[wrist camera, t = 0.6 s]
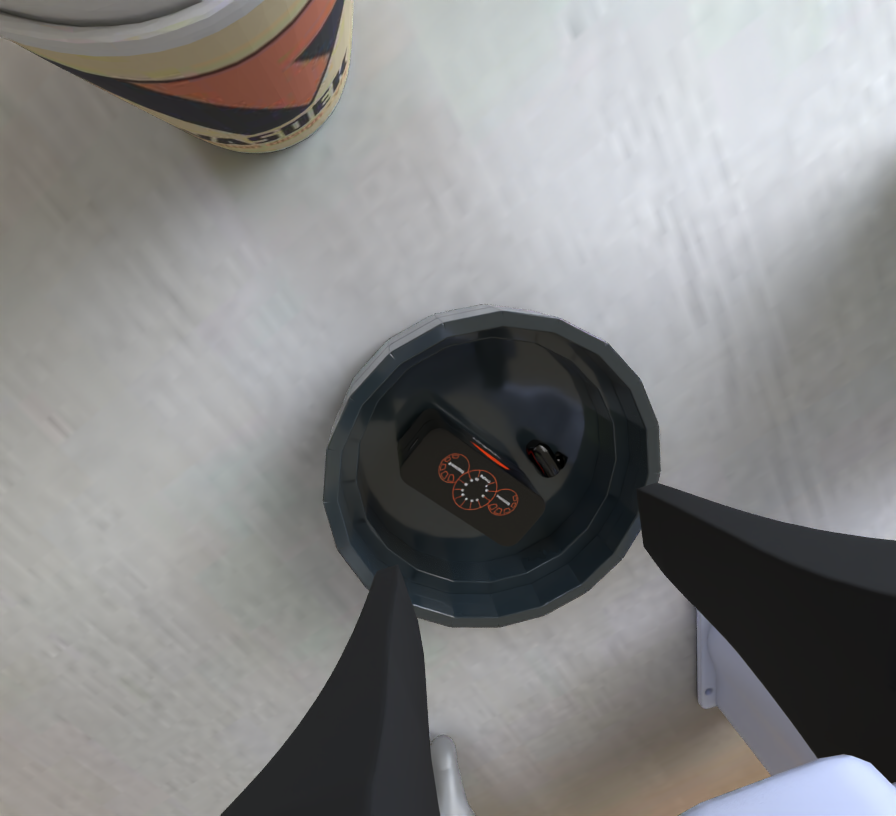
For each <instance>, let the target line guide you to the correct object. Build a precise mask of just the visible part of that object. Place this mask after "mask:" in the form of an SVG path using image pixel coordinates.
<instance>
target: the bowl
mask: <svg viewBox="0 0 896 816" xmlns="http://www.w3.org/2000/svg"><path fill="white" fill-rule="evenodd" d="M429 408H434V409H437V410H439V411H441V412H442V413H443V414H445V415H446V416H447V417H449V418H450V419H452V420H453V421H454V422H456V423H457V424H458V425H460V426H461V427H463V428H464V429H465V430H467V431H468V432H469V433H471V434H472V435H474V436H475V437H476V438H478V439H479V440H480V441H482V442H483V443H485V444H486V445H487V446H489V447H490V448H491V449H493V450H494V451H496V452H497V453H498V454H500V455H501V456H503V457H504V458H505V459H507V460H508V461H509V462H511V463H512V464H514V465H515V466H516V467H518V468H519V469H520V470H522V471H523V472H524V473H525V474H526V476H527V477H528V478H529V480H530V481H531V483H532V484H533V485H534V487H535V488H536V490H537V491H538V492H539V494H540V495H541V497H542V498H543V499H544V501H545V511H544V513H543V514H542V516H541V517H540V518H539V519H538V520H537V521H536V523H535V524H534V525H533V526H532V527H531V528H530V529H529V531H528V532H527V533H526V534H525V535H524V536H523V537H522V539H521V540H520V541H519V542H518V543H516V544H515V545H512V546H508V547H507V546H502V545H500V544H498V543H497V542H495V541H493V540H492V539H490V538H489V537H487V536H486V535H484V534H483V533H481V532H480V531H478V530H477V529H475V528H473V527H472V526H470V525H469V524H467V523H466V522H464V521H463V520H461V519H460V518H458V517H457V516H455V515H453V514H452V513H450V512H449V511H447V510H446V509H444V508H443V507H441V506H440V505H438V504H437V503H435V502H433V501H432V500H430V499H429V498H427V497H426V496H424V495H423V494H421V493H420V492H418V491H417V490H415V489H413V488H412V487H410V486H409V485H407V484H406V483H405V482H404V481H403V480H402V479H401V477H400V470H399V461H398V451H397V446H398V442H399V441H400V439H401V438H402V436H403V435H404V434H405V433H406V431H407V430H408V429H409V427H410V426H411V425H412V424H413V422H414V421H415V420H416V419H417V417H418V416H419V415H420V414H421V413H422V412H423V411H424V410H426V409H429ZM533 439H536V440H540V441H543V442H544V443H546V444H547V445H548V446H549V447H550V448H551V450H552V451H553V453H554V454H555V452H557V451H559V452H562V453H564V454H565V455H566V456H568V460H567V463H566V465H565V467H564V468H563V469H561V470H560V472H559V473H558V474H557V475H555V476H554V477H551V478H544V477H542V476H541V475H539V474H538V473H537V471H536V470H535V468H534V466H533V465H532V463H531V462H530V460H529V459H528V457H527V456H526V445H527V444H528V443H529V442H530V441H531V440H533ZM660 471H661V468H660V442H659V426H658V422H657V419H656V417H655V414H654V411H653V409H652V406H651V404H650V401H649V399H648V396H647V394H646V391H645V389H644V386H643V384H642V381H641V379H640V378H639V377H638V376H637V375H636V373H635V372H634V371H633V370H632V369H631V368H630V367H629V366H628V365H627V364H626V362H625V361H624V360H623V359H622V358H621V357H620V356H619V355H618V354H617V353H616V351H615V350H614V349H613V348H612V347H611V346H610V345H609V344H608V343H607V342H606V341H604V340H602V339H600V338H598V337H596V336H594V335H592V334H590V333H588V332H586V331H584V330H582V329H581V328H579V327H577V326H575V325H573V324H571V323H569V322H567V321H565V320H563V319H561V318H558V317H555V316H551V315H547V314H543V313H540V312H536V311H533V310H527V309H519V308H511V307H504V306H496V305H488V304H484V305H483V304H480V305H475V306H470V307H465V308H460V309H455V310H450V311H445V312H440V313H435V314H434V315H430V316H429V317H427V318H425V319H423V320H422V321H420V322H418V323H416V324H414V325H413V326H411V327H409V328H407V329H406V330H404V331H402V332H400V333H399V334H397V335H395V336H393V337H392V338H390V339H389V341H388V340H387V341H386V342H385V343H384V344H383V345H382V346H381V348H380V349H379V350H378V351H377V352H376V353H375V354H374V355H373V356H372V357H371V359H370V360H369V361H368V362H367V363H366V364H365V365H364V366H363V367H362V369H361V370H360V371H359V372H358V373H357V374H356V375H355V376H354V378H353V379H352V382H351V384H350V386H349V389H348V391H347V393H346V395H345V398H344V400H343V402H342V405H341V407H340V409H339V412H338V414H337V416H336V419H335V421H334V424H333V428H332V431H331V435H330V438H329V442H328V446H327V449H326V461H325V476H324V491H323V504H324V508H325V511H326V514H327V518H328V521H329V524H330V528H331V531H332V534H333V538H334V541H335V544H336V548H337V549H338V551H339V553H340V554H341V555H342V557H343V558H344V559H345V561H346V562H347V563H348V565H349V566H350V567H351V569H352V570H353V571H354V573H355V574H356V575H357V577H358V578H359V579H360V581H361V582H362V583H363V585H364V586H365V587H366V588H367V589H368V590H370V588H371V585H372V582H373V579H374V576H375V574H376V572H377V571H378V570H381V569H385V568H388V567H391V566H394V565H397V564H398V565H399V568H400V571H401V574H402V577H403V579H404V582H405V585H406V588H407V591H408V594H409V597H410V600H411V602H412V605H413V608H414V611H415V614H416V617H417V618H420V619H424V620H427V621H430V622H434V623H437V624H441V625H444V626H448V627H473V628H497V627H503V626H507V625H511V624H515V623H519V622H523V621H526V620H530V619H534V618H538V617H542V616H545V615H547V614H549V613H550V612H552V611H554V610H556V609H558V608H559V607H561V606H563V605H565V604H567V603H568V602H570V601H572V600H574V599H576V598H578V597H579V596H581V595H583V594H585V593H586V592H587V591H589V590H590V589H591V588H592V587H593V586H594V585H595V584H596V583H598V582H599V581H600V580H601V579H602V578H603V577H604V576H605V575H606V574H607V573H608V572H609V571H610V570H611V569H612V568H614V567H615V566H616V565H617V564H618V563H619V562H620V561H621V560H622V558H623V557H624V556H625V554H626V553H627V551H628V549H629V548H630V546H631V545H632V543H633V541H634V540H635V538H636V537H637V535H638V533H639V532H640V530H641V522H640V514H639V507H638V499H637V491H636V489H637V488H641V487H644V486H647V485H650V484H653V483H658V480H659V477H660Z"/></svg>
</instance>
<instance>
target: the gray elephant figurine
mask: <svg viewBox="0 0 896 816" xmlns="http://www.w3.org/2000/svg"><path fill="white" fill-rule="evenodd" d="M430 750H431V759H432V765H433V772H434V778H435V785H436V791H437V798H438V804H439V810H440V816H476V815H475V813H474V812H473V811H472V809H471V807H470V805H469V804H468V801H467V798H466V794H465V791H464V787H463V783H462V779H461V774H460V770H459V766H458V761H457V754H456V747H455V744H454V742H453V740H452V739H451V738H450V737H448V736H446V735H440V736H438V737H436V738H435V739H434V740H433V742H432V744H431V746H430Z"/></svg>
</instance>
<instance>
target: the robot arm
mask: <svg viewBox="0 0 896 816" xmlns="http://www.w3.org/2000/svg"><path fill="white" fill-rule="evenodd" d="M636 491H637V499H638V507H639V514H640V522H641V530H642V537H643V545H644V548H645V549H646V550H647V552H648V553H649V555H650V556H651V557H652V559H653V560H654V562H655V563H656V564H657V566H658V567H659V568H660V570H661V571H662V572H663V573H664V575H665V576H666V577H667V578H668V579H669V580H670V581H671V582H672V583H673V585H674V586H675V587H676V588H677V589H678V590H679V591H680V592H681V593H682V594H683V595H684V596H685V597H686V598H687V599H688V600H689V601H690V602H691V604H692V605H693V606H694V607H695V608H696V609H697V678H698V703H699V704H700V705H701V707H702V708H704V709H709V708H712V707H716V706H718V708H719V709H720V710H721V712H722V713H723V714H724V715H725V717H726V718H727V719H728V721H729V722H730V723H731V724H732V726H733V727H734V728H735V730H736V731H737V732H738V733H739V735H740V736H741V737H742V739H743V740H744V741H745V743H746V744H747V745H748V746H749V748H750V749H751V750H752V752H753V753H754V754H755V755H756V757H757V758H758V759H759V761H760V762H761V763H762V764H763V766H764V767H765V768H766V770H767V771H768V772H769V774H770V775H771V777H769V778H766V779H763V780H760V781H758V782H755V783H752V784H750V785H747V786H744V787H742V788H739V789H736V790H734V791H731V792H728V793H726V794H723V795H720V796H717V797H715V798H712V799H709V800H707V801H704V802H701V803H699V804H697V805H696V806H694V807H692V808H690V809H689V810H687V811H685V812H683V813H682V814H680V815H678V816H896V541H895V540H885V539H877V538H868V537H861V536H855V535H848V534H841V533H835V532H829V531H824V530H818V529H813V528H808V527H804V526H799V525H794V524H790V523H785V522H781V521H777V520H773V519H769V518H766V517H762V516H758V515H755V514H751V513H748V512H744V511H741V510H738V509H734V508H731V507H728V506H725V505H722V504H719V503H716V502H713V501H710V500H707V499H704V498H701V497H698V496H695V495H692V494H689V493H686V492H683V491H681V490H678V489H675V488H672V487H669V486H665V485H662V484H658V483H653V484H650V485H647V486H644V487H641V488H637V489H636ZM221 816H440V810H439V804H438V798H437V791H436V785H435V778H434V772H433V765H432V759H431V750H430V740H429V725H428V709H427V693H426V678H425V663H424V653H423V647H422V641H421V636H420V630H419V625H418V620H417V617H416V614H415V611H414V608H413V605H412V602H411V600H410V597H409V594H408V591H407V588H406V585H405V582H404V579H403V577H402V574H401V571H400V568H399V565H398V564H397V565H394V566H391V567H388V568H385V569H381V570H378V571H377V572H376V574H375V576H374V579H373V582H372V585H371V588H370V591H369V593H368V596H367V599H366V601H365V604H364V607H363V609H362V612H361V614H360V616H359V619H358V621H357V624H356V626H355V628H354V631H353V633H352V635H351V637H350V639H349V641H348V643H347V645H346V647H345V649H344V651H343V654H342V656H341V658H340V660H339V661H338V663H337V665H336V667H335V669H334V671H333V672H332V674H331V676H330V678H329V679H328V681H327V683H326V684H325V686H324V688H323V689H322V691H321V693H320V694H319V696H318V697H317V699H316V700H315V702H314V703H313V705H312V706H311V708H310V709H309V711H308V712H307V713H306V715H305V716H304V718H303V719H302V721H301V722H300V724H299V725H298V726H297V728H296V729H295V730H294V732H293V733H292V734H291V736H290V737H289V738H288V739H287V741H286V742H285V743H284V745H283V746H282V747H281V748H280V749H279V751H278V752H277V753H276V754H275V756H274V757H273V758H272V759H271V760H270V762H269V763H268V764H267V765H266V766H265V767H264V769H263V770H262V771H261V772H260V773H259V774H258V775H257V776H256V778H255V779H254V780H253V781H252V782H251V783H250V784H249V785H248V786H247V787H246V788H245V789H244V791H243V792H242V793H241V794H240V795H239V796H238V797H237V798H236V799H235V800H234V801H233V802H232V803H231V805H230V806H229V807H228V808H227V809H226V810H225V811H224V812H223V813H222V814H221Z"/></svg>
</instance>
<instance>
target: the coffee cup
mask: <svg viewBox="0 0 896 816" xmlns="http://www.w3.org/2000/svg"><path fill="white" fill-rule="evenodd" d="M352 30H353V0H0V37H2V38H5V39H8V40H10V41H12V42H14V43H16V44H18V45H19V46H21V47H23V48H25V49H27V50H29V51H30V52H32V53H34V54H36V55H38V56H40V57H41V58H43V59H45V60H47V61H49V62H51V63H53V64H55V65H57V66H59V67H60V68H62V69H64V70H66V71H68V72H70V73H72V74H74V75H76V76H78V77H80V78H82V79H83V80H85V81H87V82H89V83H91V84H93V85H95V86H97V87H99V88H101V89H103V90H105V91H107V92H108V93H110V94H112V95H114V96H116V97H118V98H120V99H122V100H124V101H126V102H128V103H130V104H132V105H134V106H136V107H138V108H140V109H142V110H143V111H145V112H147V113H149V114H151V115H153V116H155V117H157V118H159V119H161V120H163V121H165V122H167V123H169V124H171V125H173V126H175V127H177V128H179V129H181V130H183V131H185V132H187V133H189V134H191V135H193V136H195V137H197V138H199V139H202V140H204V141H206V142H208V143H211V144H213V145H216V146H219V147H222V148H225V149H229V150H233V151H237V152H244V153H267V152H274V151H278V150H282V149H285V148H288V147H290V146H293V145H295V144H297V143H299V142H301V141H303V140H304V139H306V138H307V137H309V136H310V135H311V134H313V133H314V132H315V131H316V130H317V129H318V128H319V127H320V126H321V125H322V124H323V123H324V122H325V121H326V120H327V119H328V117H329V116H330V115H331V113H332V112H333V110H334V108H335V107H336V105H337V103H338V101H339V99H340V96H341V94H342V92H343V89H344V86H345V82H346V79H347V75H348V70H349V65H350V55H351V43H352Z"/></svg>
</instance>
